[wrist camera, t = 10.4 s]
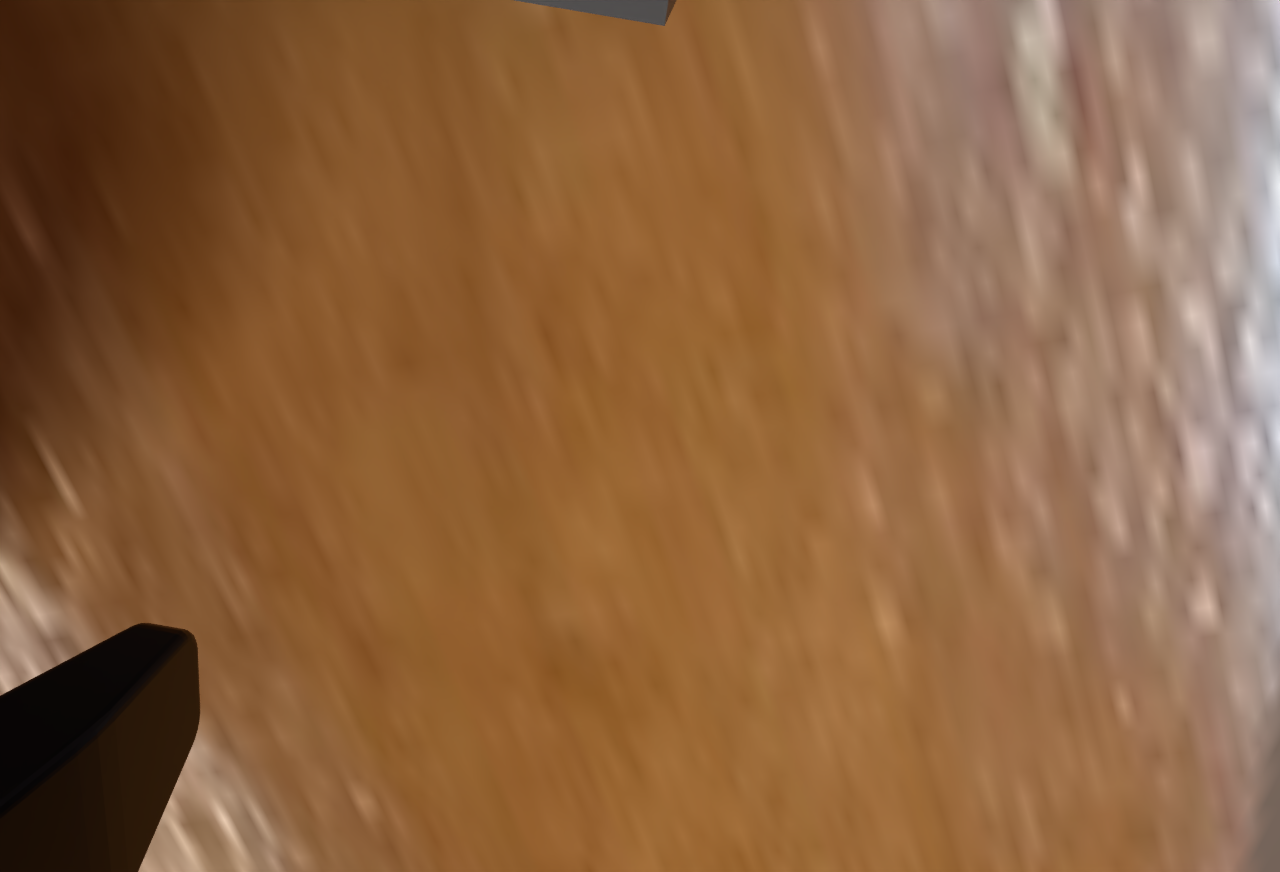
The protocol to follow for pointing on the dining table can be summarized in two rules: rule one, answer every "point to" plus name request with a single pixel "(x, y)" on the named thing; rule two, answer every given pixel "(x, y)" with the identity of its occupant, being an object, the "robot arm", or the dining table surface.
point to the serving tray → (617, 8)
